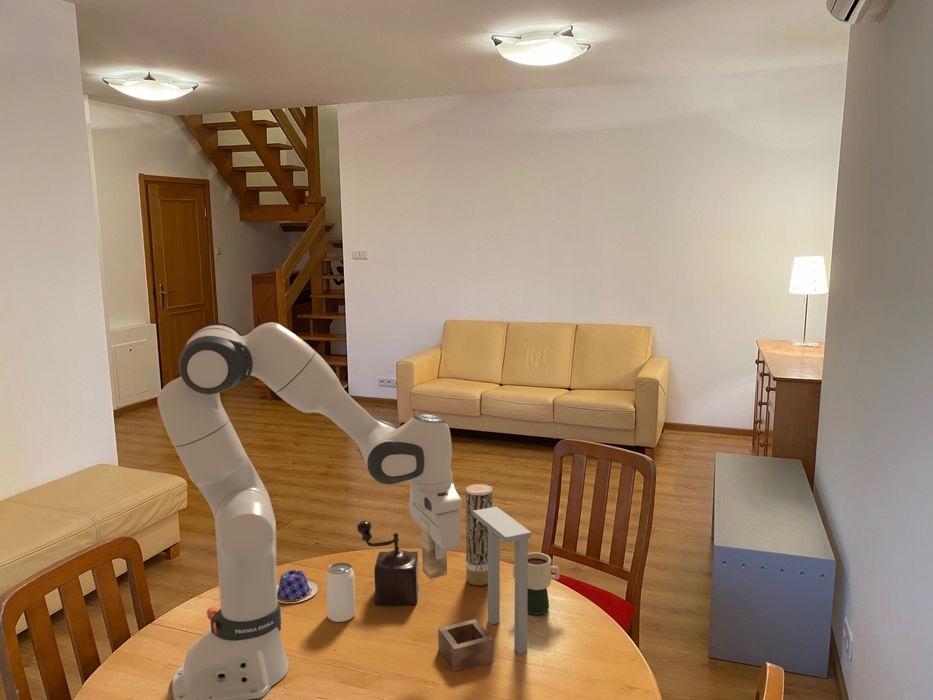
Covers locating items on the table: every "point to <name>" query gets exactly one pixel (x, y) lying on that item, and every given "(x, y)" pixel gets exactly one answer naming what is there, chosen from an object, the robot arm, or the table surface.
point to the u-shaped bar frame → (508, 532)
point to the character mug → (539, 582)
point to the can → (340, 592)
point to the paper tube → (477, 534)
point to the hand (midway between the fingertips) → (434, 552)
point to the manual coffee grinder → (393, 572)
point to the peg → (431, 555)
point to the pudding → (295, 586)
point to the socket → (465, 645)
